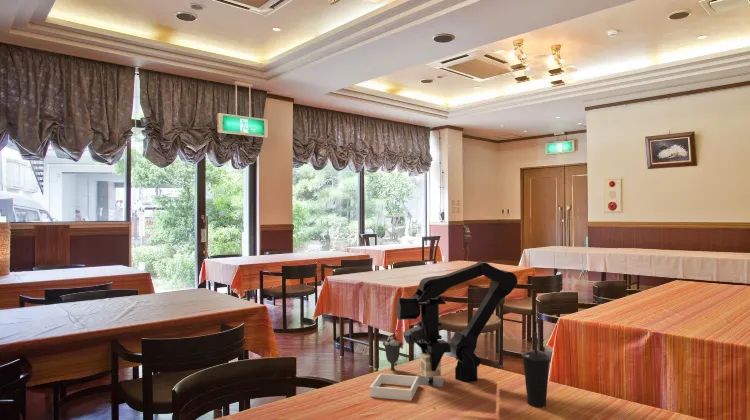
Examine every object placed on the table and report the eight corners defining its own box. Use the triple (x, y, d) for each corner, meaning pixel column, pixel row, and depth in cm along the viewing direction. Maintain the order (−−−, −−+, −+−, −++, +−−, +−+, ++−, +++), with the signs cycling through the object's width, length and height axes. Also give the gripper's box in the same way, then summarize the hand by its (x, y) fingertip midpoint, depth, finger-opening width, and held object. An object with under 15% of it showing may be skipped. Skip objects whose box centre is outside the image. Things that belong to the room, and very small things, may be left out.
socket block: (434, 371, 152) (434, 352, 152) (440, 376, 147) (440, 356, 148) (420, 372, 151) (420, 353, 151) (425, 377, 146) (425, 357, 146)
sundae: (401, 377, 157) (400, 331, 157) (381, 376, 158) (380, 330, 158) (404, 370, 163) (403, 327, 163) (384, 369, 164) (384, 326, 165)
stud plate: (445, 381, 152) (444, 367, 152) (441, 390, 144) (441, 375, 144) (420, 379, 154) (420, 365, 154) (415, 388, 146) (415, 373, 146)
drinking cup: (516, 401, 135) (515, 330, 136) (537, 397, 138) (536, 328, 139) (535, 411, 128) (534, 336, 129) (557, 406, 131) (556, 334, 132)
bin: (418, 389, 145) (418, 376, 145) (411, 404, 134) (411, 390, 134) (380, 386, 148) (380, 373, 148) (370, 400, 137) (370, 386, 137)
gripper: (396, 314, 156) (396, 361, 156) (415, 326, 138) (416, 380, 138) (428, 312, 159) (428, 359, 159) (451, 324, 141) (451, 377, 141)
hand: (430, 368), depth 149 cm, fingers closed on socket block, 5 cm apart
